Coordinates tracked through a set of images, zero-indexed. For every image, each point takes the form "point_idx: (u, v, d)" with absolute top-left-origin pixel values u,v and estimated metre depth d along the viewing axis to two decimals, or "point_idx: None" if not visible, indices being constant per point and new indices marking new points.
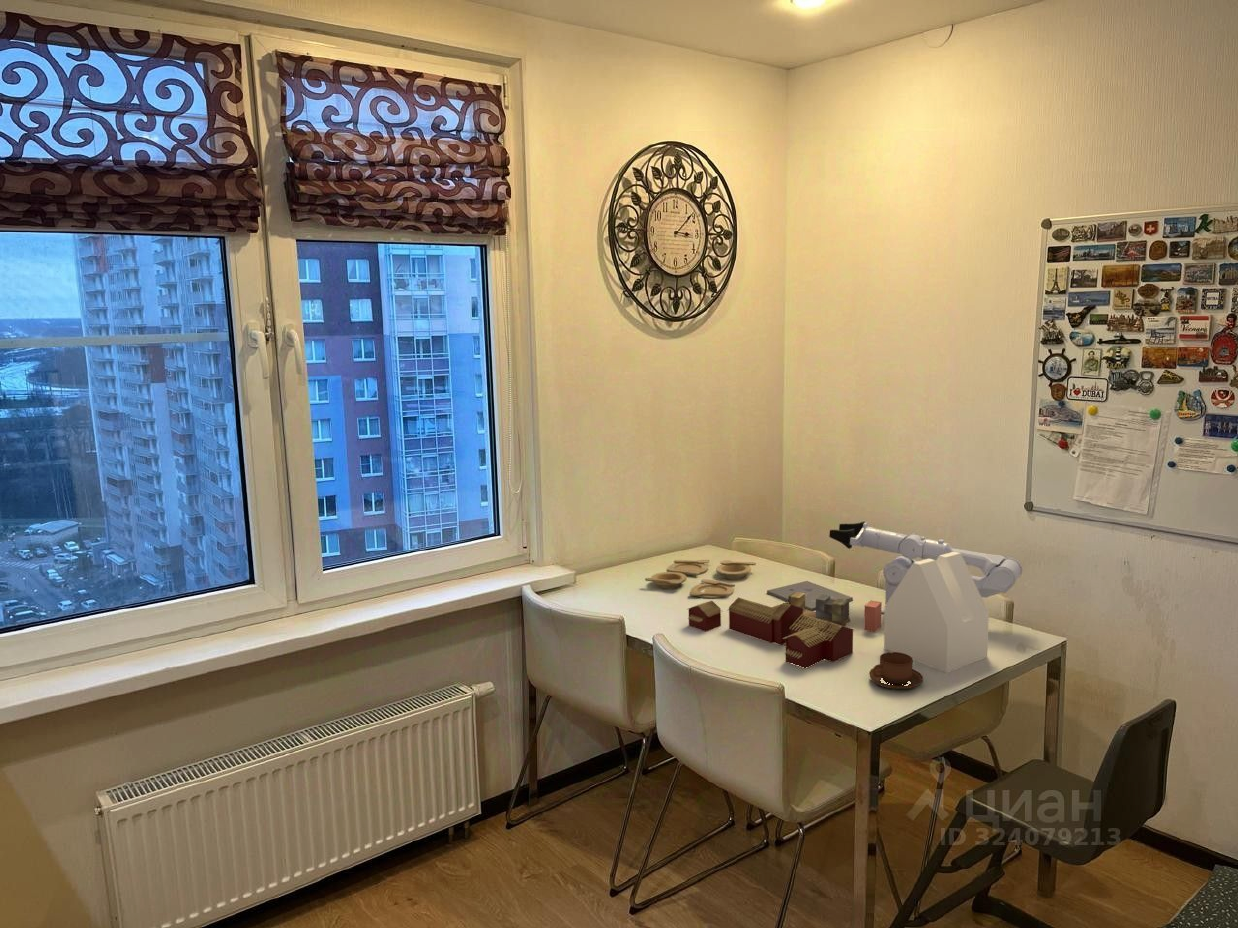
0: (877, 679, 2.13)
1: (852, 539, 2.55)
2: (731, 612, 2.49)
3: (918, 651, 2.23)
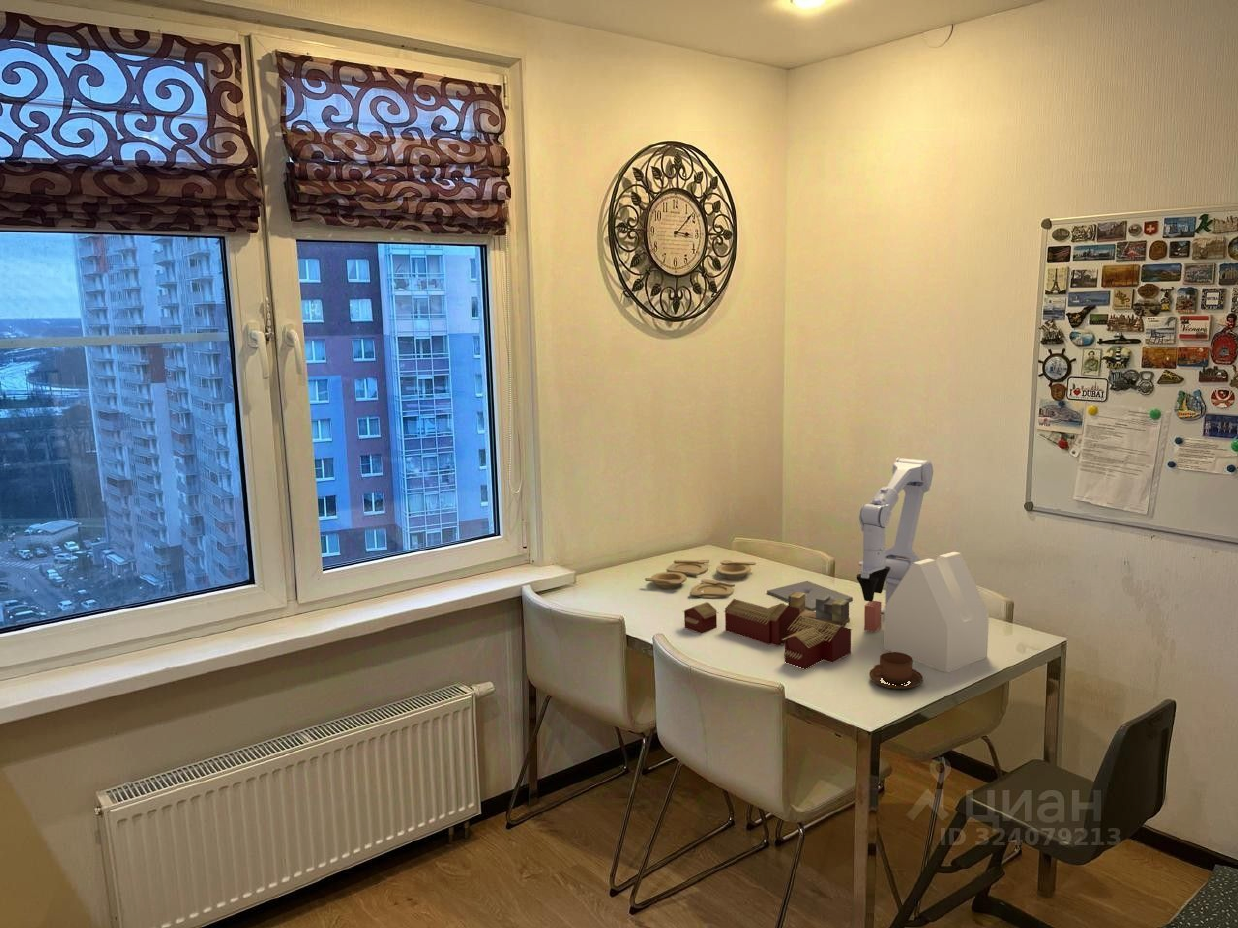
0: (877, 679, 2.14)
1: (861, 575, 2.38)
2: (727, 614, 2.48)
3: (918, 651, 2.23)
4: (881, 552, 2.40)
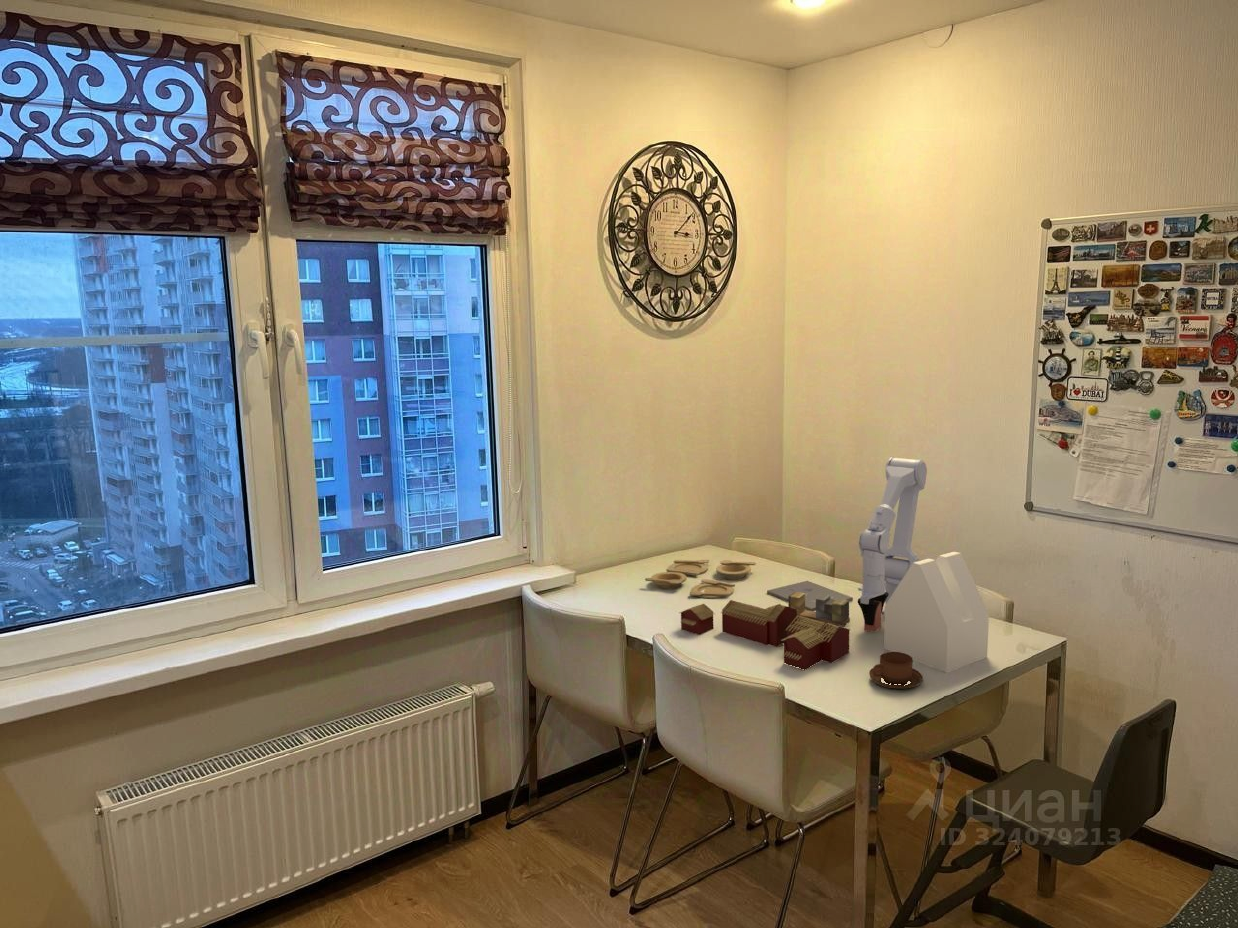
0: (877, 679, 2.14)
1: (861, 601, 2.39)
2: (724, 615, 2.47)
3: (918, 651, 2.23)
4: (881, 577, 2.42)
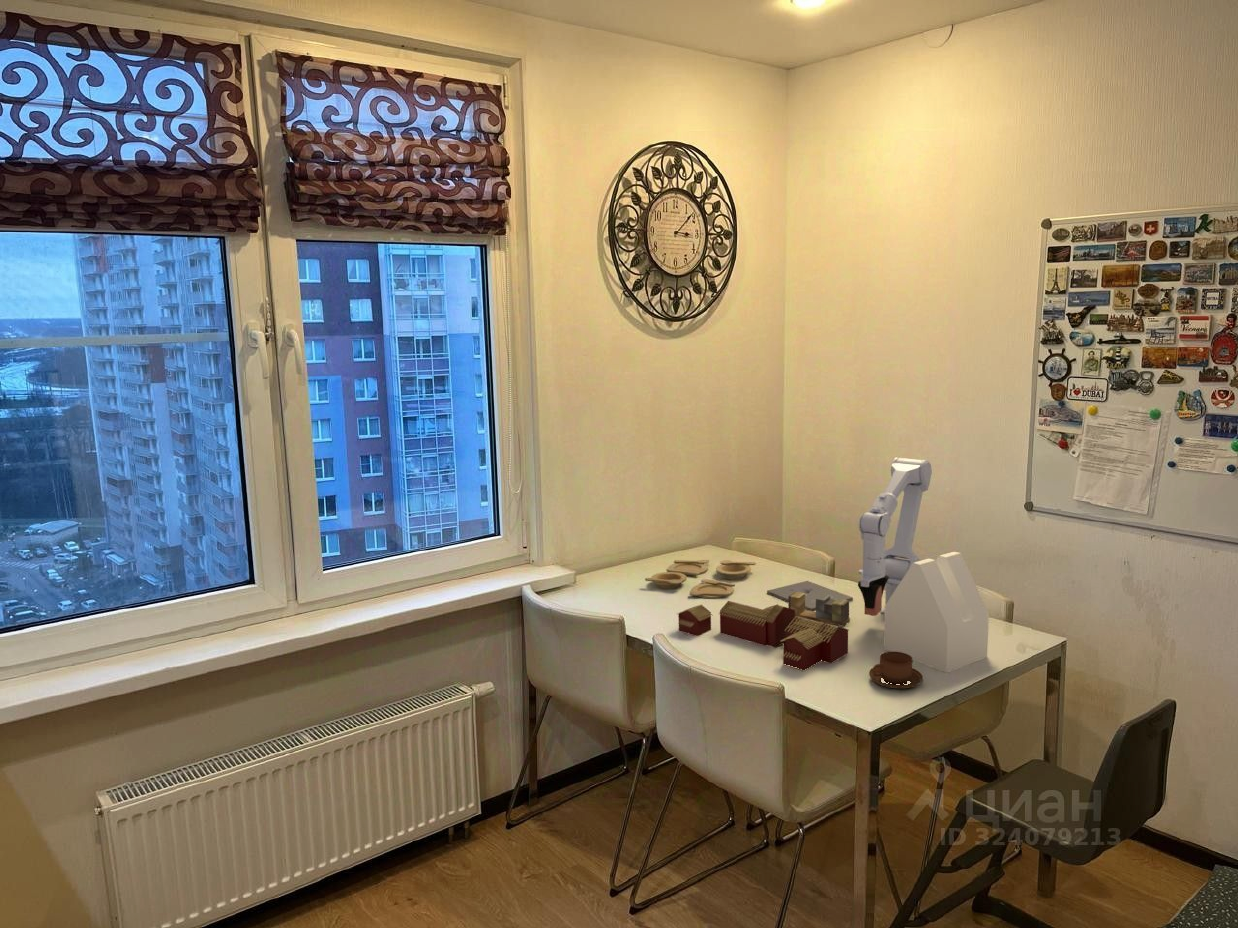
0: (877, 678, 2.14)
1: (861, 583, 2.39)
2: (722, 616, 2.46)
3: (918, 651, 2.23)
4: (881, 560, 2.41)
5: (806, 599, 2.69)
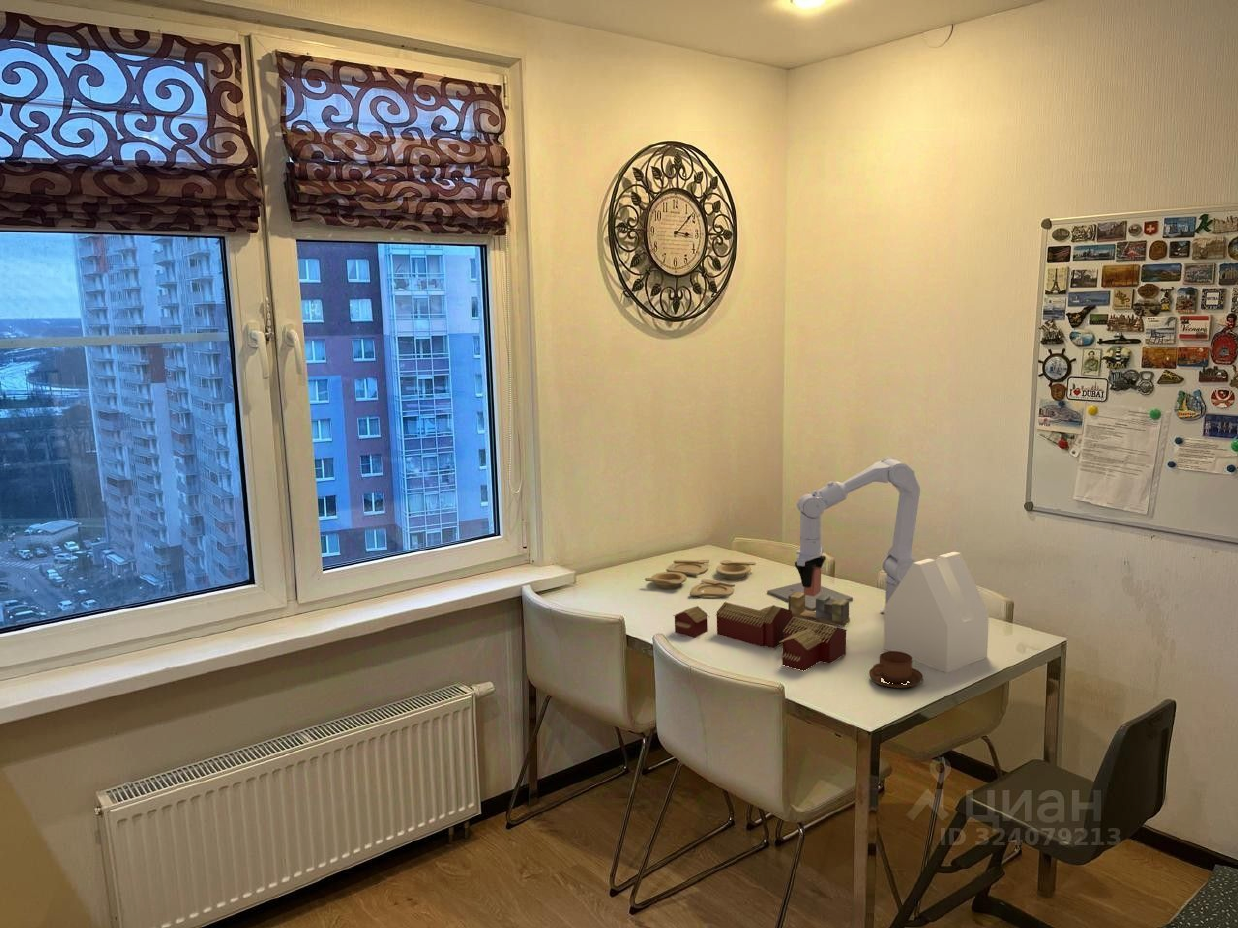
0: (877, 678, 2.14)
1: (797, 563, 2.48)
2: (719, 617, 2.45)
3: (918, 651, 2.23)
4: (817, 541, 2.50)
5: (806, 599, 2.69)
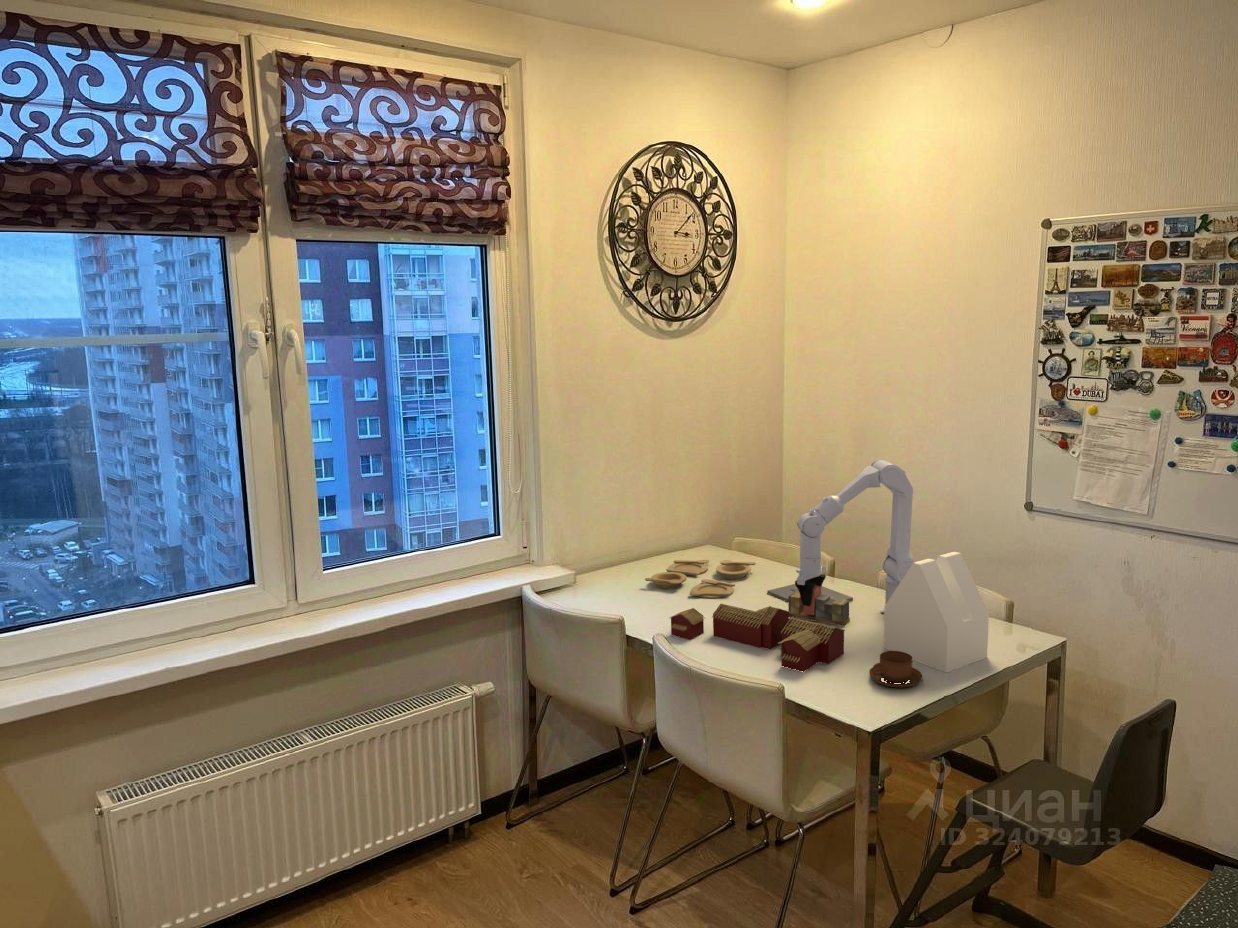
0: (877, 677, 2.14)
1: (797, 582, 2.49)
2: (715, 619, 2.44)
3: (918, 651, 2.23)
4: (817, 560, 2.51)
5: None
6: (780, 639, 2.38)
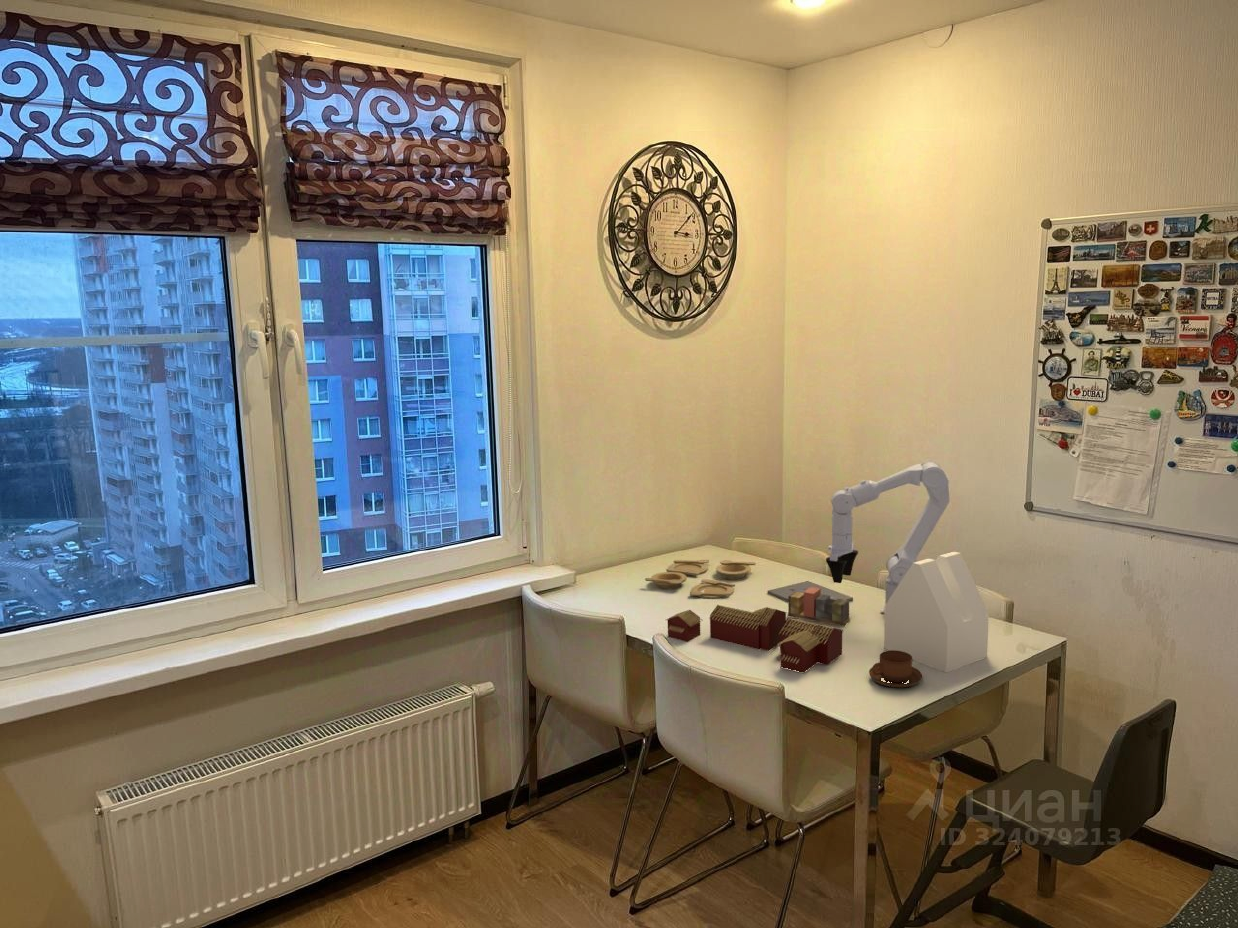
0: (877, 677, 2.15)
1: (830, 558, 2.53)
2: (712, 620, 2.43)
3: (918, 651, 2.23)
4: (849, 536, 2.55)
5: None
6: (778, 640, 2.38)
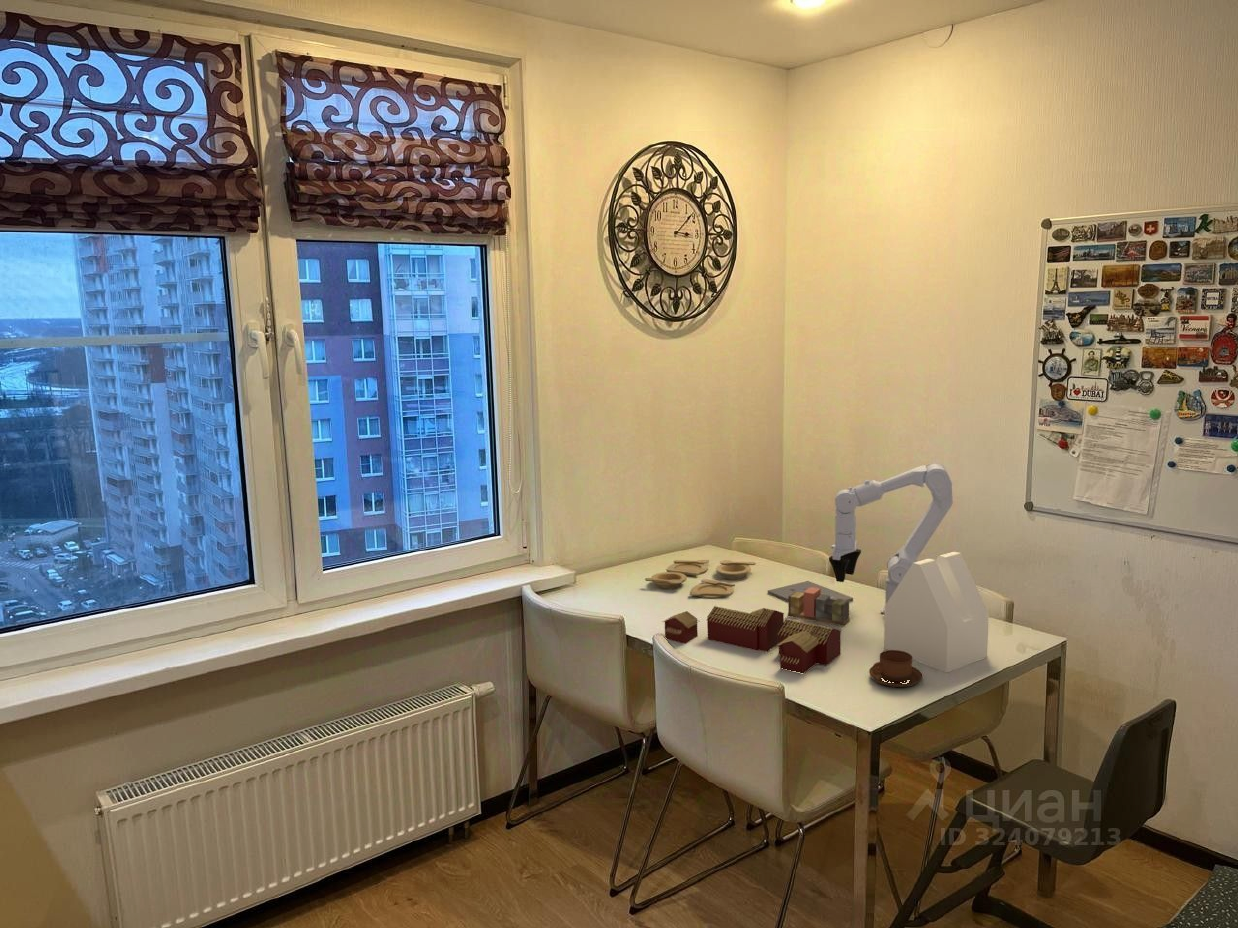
0: (877, 677, 2.15)
1: (833, 557, 2.54)
2: (710, 622, 2.42)
3: (918, 651, 2.23)
4: (852, 535, 2.56)
5: None
6: (776, 641, 2.37)
